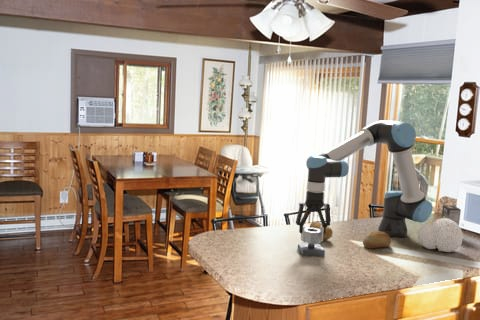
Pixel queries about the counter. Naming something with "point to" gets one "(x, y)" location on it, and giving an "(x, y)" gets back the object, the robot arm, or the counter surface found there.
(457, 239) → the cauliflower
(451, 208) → the coffee box
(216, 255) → the counter surface
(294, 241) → the counter surface
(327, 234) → the potato
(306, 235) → the hub
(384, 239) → the bread roll
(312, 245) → the pillow block
